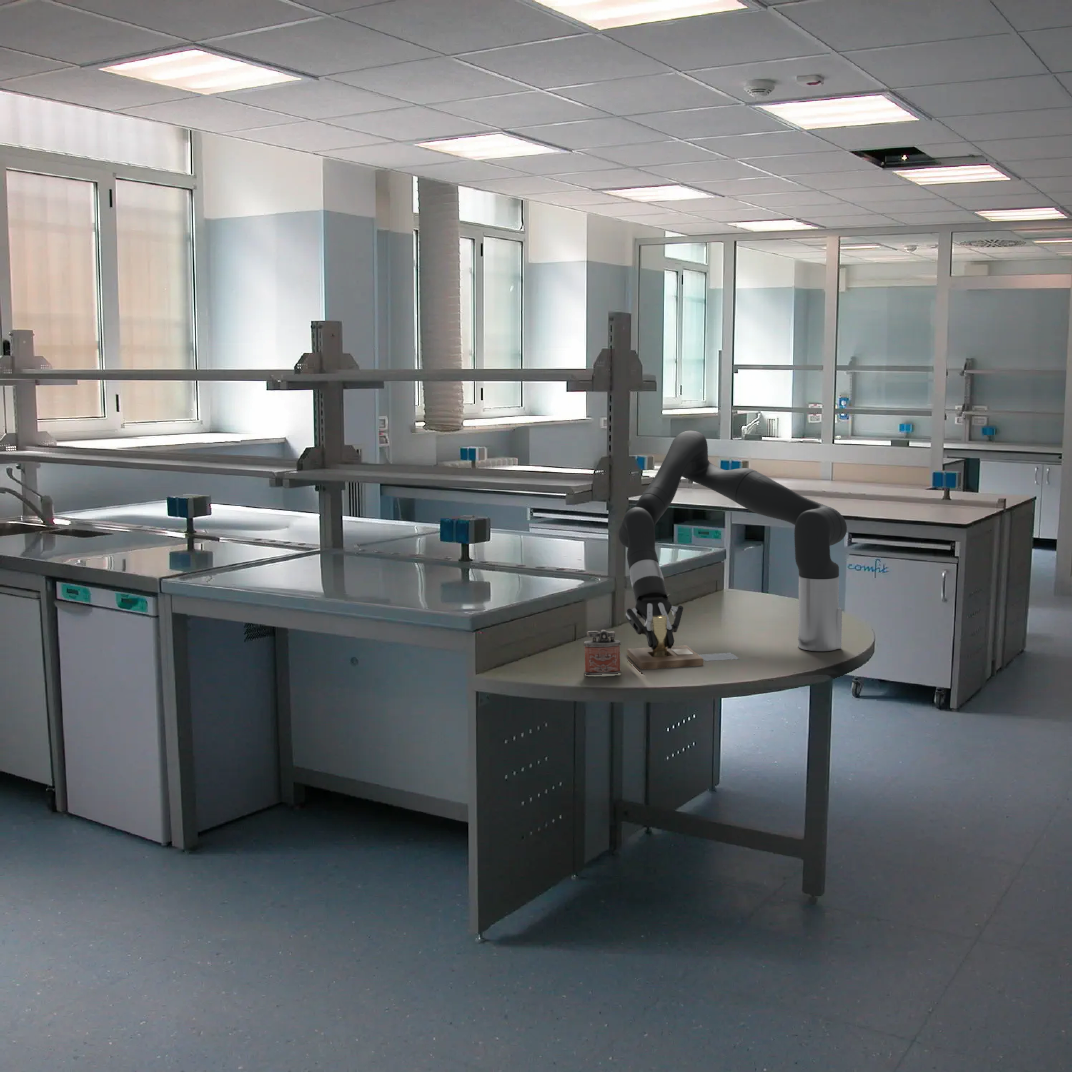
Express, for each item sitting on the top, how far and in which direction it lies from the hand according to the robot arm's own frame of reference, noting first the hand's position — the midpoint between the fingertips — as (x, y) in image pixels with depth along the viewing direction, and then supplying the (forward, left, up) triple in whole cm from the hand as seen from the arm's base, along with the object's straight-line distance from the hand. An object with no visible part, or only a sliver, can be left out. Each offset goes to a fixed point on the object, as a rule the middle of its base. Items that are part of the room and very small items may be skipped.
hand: (662, 647), depth 250 cm
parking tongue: (-14, -2, -5) cm, 15 cm away
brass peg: (0, -2, -3) cm, 4 cm away
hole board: (-1, -2, -5) cm, 5 cm away
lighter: (+14, +2, -5) cm, 15 cm away
